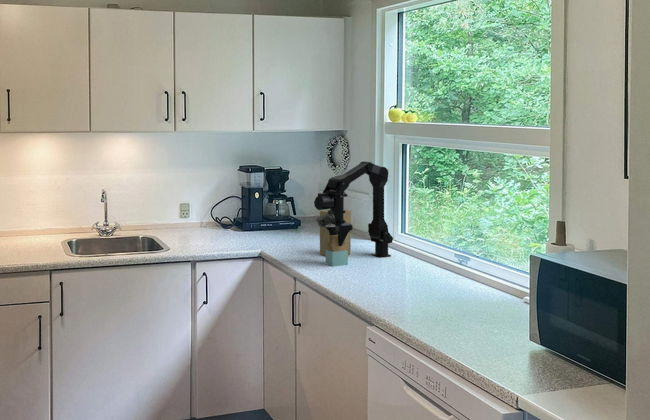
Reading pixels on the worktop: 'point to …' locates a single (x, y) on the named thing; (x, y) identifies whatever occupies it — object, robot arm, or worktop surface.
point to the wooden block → (325, 234)
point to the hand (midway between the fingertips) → (336, 244)
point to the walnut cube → (335, 244)
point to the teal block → (336, 258)
